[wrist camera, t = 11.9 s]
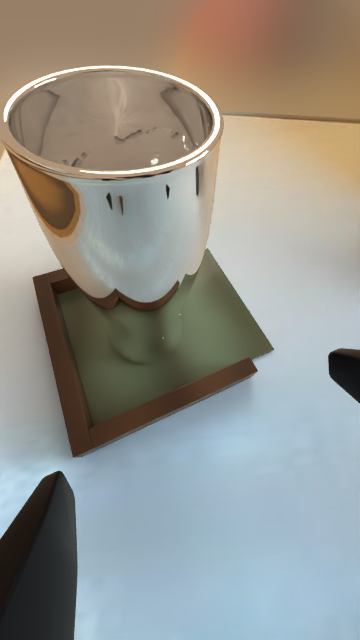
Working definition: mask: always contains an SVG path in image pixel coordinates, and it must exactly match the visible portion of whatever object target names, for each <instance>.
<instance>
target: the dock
mask: <svg viewBox="0 0 360 640" xmlns="http://www.w3.org/2000/svg"><path fill="white" fill-rule="evenodd" d="M33 282H34V286H35V291H36V295H37V300H38V304H39V308H40V313H41V317H42V322H43V326H44V331H45V335H46V340H47V344H48V348H49V353H50V357H51V362H52V366H53V371H54V375H55V379H56V384H57V388H58V393H59V397H60V402H61V406H62V410H63V415H64V419H65V424H66V428H67V433H68V437H69V442H70V446H71V450H72V455H73V457H83V456H85V455H87V454H89V453H91V452H94V451H96V450H98V449H99V448H102V447H104V446H106V445H108V444H111V443H113V442H115V441H117V440H119V439H121V438H123V437H125V436H127V435H130V434H132V433H134V432H136V431H138V430H140V429H142V428H144V427H147V426H149V425H151V424H153V423H155V422H157V421H159V420H161V419H163V418H166V417H168V416H170V415H172V414H174V413H176V412H178V411H180V410H183V409H185V408H187V407H189V406H191V405H193V404H195V403H197V402H199V401H202V400H204V399H206V398H208V397H210V396H212V395H214V394H216V393H219V392H221V391H223V390H225V389H227V388H229V387H231V386H233V385H235V384H238V383H240V382H242V381H244V380H246V379H248V378H250V377H251V376H253V375H254V374H255V373H256V372H257V371H258V370H257V368H256V367H255V365H254V363H253V362H252V359H254V358H257V357H259V356H261V355H263V354H266V353H268V352H270V351H272V350H274V348H273V347H272V345H271V344H270V342H269V341H268V339H267V338H266V336H265V335H264V333H263V332H262V330H261V329H260V327H259V326H258V324H257V323H256V321H255V320H254V318H253V316H252V315H251V313H250V312H249V310H248V309H247V307H246V306H245V304H244V303H243V301H242V300H241V298H240V297H239V295H238V294H237V292H236V291H235V289H234V288H233V286H232V285H231V283H230V281H229V280H228V278H227V277H226V275H225V274H224V272H223V271H222V269H221V268H220V266H219V265H218V263H217V262H216V260H215V259H214V257H213V256H212V254H211V253H210V251H209V250H208V248H207V249H205V252H204V256H203V260H202V264H201V266H200V269H199V271H198V274H197V277H196V279H195V282H194V284H193V286H192V288H191V290H190V292H189V295H188V297H187V299H186V301H185V302H184V304H183V306H182V309H181V311H180V315H181V319H182V324H183V335H182V339H181V341H180V343H179V345H178V347H177V348H176V349H175V351H174V352H173V353H172V354H170V355H169V356H168V357H166V358H165V359H163V360H161V361H158V362H154V363H148V364H141V363H135V362H132V361H129V360H127V359H125V358H124V357H122V356H121V355H120V354H119V353H118V352H117V351H116V350H115V349H114V347H113V346H112V344H111V341H110V338H109V332H108V322H107V320H106V319H105V318H104V317H103V316H102V315H101V314H100V313H99V312H98V311H97V310H96V309H95V308H94V307H93V305H92V304H91V303H90V302H89V301H88V300H87V299H86V298H85V297H84V296H83V295H82V293H81V292H80V291H79V290H78V288H77V287H76V286H75V285H74V283H73V282H72V281H71V280H70V278H69V277H68V275H67V274H66V272H65V270H64V269H60V270H56V271H53V272H49V273H48V274H47V273H46V274H42V275H39V276H35V277H33Z"/></svg>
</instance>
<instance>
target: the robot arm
mask: <svg viewBox="0 0 360 640" xmlns="http://www.w3.org/2000/svg"><path fill="white" fill-rule="evenodd" d="M328 361H329V374H330V377H331V378H332V379H333V380H334V381H335V382H336V383H337V384H338V385H339V386H341V387H342V388H343V389H344V390H345V391H346V392H347V393H348V394H350V395H351V396H352V397H353V398H354V399H355V400H356V401H358V402H359V403H360V350H355V349H343V348H340V349H337V350H335V351H332V352H331V353H329V356H328ZM76 592H77V538H76V514H75V497H74V493H73V491H72V489H71V487H70V485H69V483H68V481H67V479H66V478H65V476H64V474H63V473H62V472H61V471H57V472H54V473H52V474H50V475H47V476H46V477H44V478H43V479H42V480H41V482H40V483H39V484H38V486H37V487H36V489H35V490H34V492H33V493H32V495H31V496H30V497H29V499H28V500H27V502H26V503H25V505H24V506H23V507H22V509H21V510H20V512H19V513H18V515H17V516H16V518H15V519H14V520H13V522H12V523H11V525H10V526H9V528H8V529H7V531H6V532H5V533H4V535H3V536H2V538H1V539H0V640H74V629H75V610H76Z"/></svg>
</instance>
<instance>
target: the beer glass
mask: <svg viewBox="0 0 360 640" xmlns="http://www.w3.org/2000/svg"><path fill="white" fill-rule="evenodd" d="M223 126H224V122H223V116H222V113H221V110H220V108H219V106H218V105H217V103H216V102H215V101H214V100H213V99H212V98H211V97H210V96H209V95H208V94H207V93H206V92H205V91H203V90H202V89H201V88H199V87H197V86H196V85H194V84H192V83H190V82H188V81H186V80H184V79H181V78H179V77H176V76H173V75H170V74H167V73H164V72H160V71H156V70H151V69H146V68H139V67H131V66H117V65H101V66H85V67H77V68H71V69H65V70H60V71H56V72H52V73H49V74H46V75H43V76H40V77H37V78H35V79H33V80H30V81H29V82H26V83H24V84H23V85H21V86H20V87H18V88H16V89H15V90H14V91H12V92H11V93H10V94H9V95H8V96H7V97H6V98H5V99H4V100H3V101H2V103H1V104H0V140H1V142H2V143H3V145H4V146H5V148H6V151H7V153H8V155H9V157H10V159H11V161H12V164H13V166H14V168H15V170H16V173H17V175H18V177H19V180H20V182H21V184H22V187H23V189H24V191H25V194H26V196H27V198H28V201H29V203H30V205H31V207H32V209H33V212H34V214H35V216H36V218H37V220H38V223H39V225H40V227H41V229H42V231H43V233H44V235H45V237H46V239H47V241H48V243H49V245H50V247H51V248H52V250H53V252H54V254H55V256H56V257H57V259H58V261H59V262H60V264H61V266H62V267H63V269H64V270H65V272H66V274H67V275H68V277H69V278H70V280H71V281H72V282H73V283H74V285H75V286H76V287H77V288H78V290H79V291H80V292H81V293H82V295H83V296H84V297H85V298H86V299H87V300H88V301H89V302H90V303H91V304H92V305H93V307H94V308H95V309H96V310H97V311H98V312H99V313H100V314H101V315H102V316H103V317H104V318H105V319H106V320H107V322H108V332H109V338H110V341H111V344H112V346H113V347H114V349H115V350H116V351H117V352H118V353H119V354H120V355H121V356H122V357H124V358H125V359H127V360H129V361H132V362H135V363H141V364H148V363H154V362H158V361H161V360H163V359H165V358H166V357H168V356H169V355H170V354H172V353H173V352H174V351H175V349H176V348H177V347H178V345H179V343H180V341H181V339H182V335H183V324H182V319H181V315H180V311H181V309H182V306H183V304H184V302H185V301H186V299H187V297H188V295H189V292H190V290H191V288H192V286H193V284H194V282H195V279H196V277H197V274H198V271H199V269H200V266H201V264H202V260H203V256H204V252H205V248H206V244H207V241H208V236H209V230H210V224H211V218H212V212H213V204H214V195H215V187H216V177H217V167H218V157H219V149H220V141H221V136H222V132H223Z"/></svg>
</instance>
